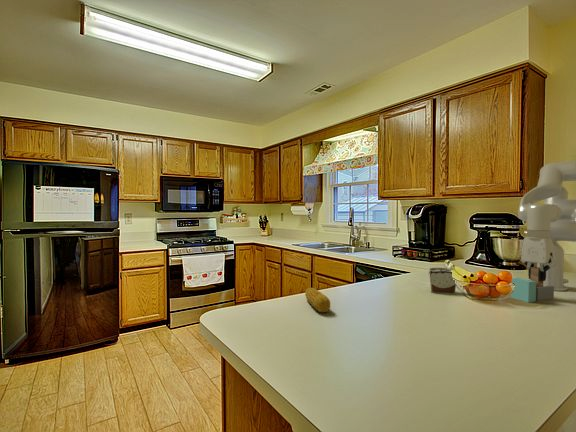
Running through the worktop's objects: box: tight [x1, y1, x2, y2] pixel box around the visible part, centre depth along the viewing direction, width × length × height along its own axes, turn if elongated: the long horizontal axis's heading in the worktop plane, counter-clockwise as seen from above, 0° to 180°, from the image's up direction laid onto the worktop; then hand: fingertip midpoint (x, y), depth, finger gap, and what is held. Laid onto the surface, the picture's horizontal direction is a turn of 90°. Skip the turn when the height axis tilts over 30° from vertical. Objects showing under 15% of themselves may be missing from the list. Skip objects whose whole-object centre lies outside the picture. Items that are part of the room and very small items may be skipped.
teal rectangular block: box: [510, 277, 537, 303], centre depth 128 cm, size 4×7×8 cm, turn 18°
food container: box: [427, 267, 457, 295], centre depth 139 cm, size 12×6×10 cm, turn 84°
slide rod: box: [529, 266, 543, 287], centre depth 130 cm, size 7×3×9 cm, turn 108°
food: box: [305, 287, 331, 313], centre depth 117 cm, size 21×6×6 cm, turn 13°
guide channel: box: [536, 286, 555, 302], centre depth 131 cm, size 9×6×5 cm, turn 108°
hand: (536, 279), depth 130 cm, fingers closed on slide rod, 3 cm apart
